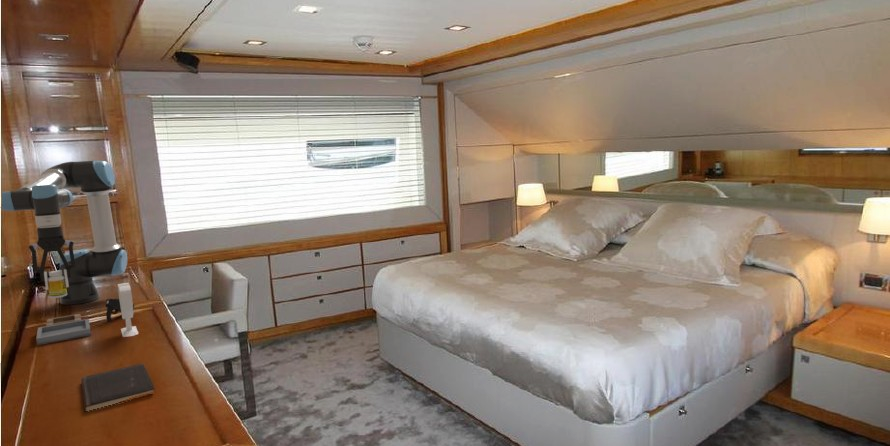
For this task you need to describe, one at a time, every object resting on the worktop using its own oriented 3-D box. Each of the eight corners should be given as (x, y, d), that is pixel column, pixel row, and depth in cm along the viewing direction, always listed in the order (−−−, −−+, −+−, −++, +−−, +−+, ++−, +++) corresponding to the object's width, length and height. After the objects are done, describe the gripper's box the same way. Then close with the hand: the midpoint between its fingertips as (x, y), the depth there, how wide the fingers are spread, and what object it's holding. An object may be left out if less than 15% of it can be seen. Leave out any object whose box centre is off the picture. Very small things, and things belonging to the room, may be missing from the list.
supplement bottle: (51, 296, 201) (47, 271, 200) (68, 293, 204) (65, 269, 202) (48, 299, 196) (45, 273, 195) (66, 296, 199) (63, 271, 198)
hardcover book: (144, 370, 164) (143, 363, 164) (155, 396, 146) (154, 388, 146) (81, 384, 155) (80, 377, 155) (85, 414, 137) (84, 406, 136)
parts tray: (39, 333, 202) (38, 327, 202) (89, 324, 211) (88, 318, 211) (37, 345, 189) (36, 338, 189) (91, 335, 198) (90, 328, 198)
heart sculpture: (139, 335, 196) (133, 287, 194) (123, 338, 193) (117, 290, 191) (135, 324, 209) (129, 280, 207) (120, 327, 206) (114, 282, 204)
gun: (133, 326, 226) (137, 302, 230) (106, 319, 211) (112, 294, 214) (126, 326, 227) (131, 302, 230) (99, 319, 211) (105, 294, 215)
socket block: (47, 325, 213) (47, 319, 213) (81, 319, 219) (80, 313, 219) (47, 332, 204) (46, 325, 204) (81, 325, 210) (80, 319, 210)
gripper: (16, 230, 189) (25, 294, 191) (79, 224, 199) (87, 285, 202) (18, 228, 195) (27, 290, 198) (79, 223, 205) (86, 282, 208)
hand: (57, 287), depth 200 cm, fingers closed on supplement bottle, 5 cm apart
